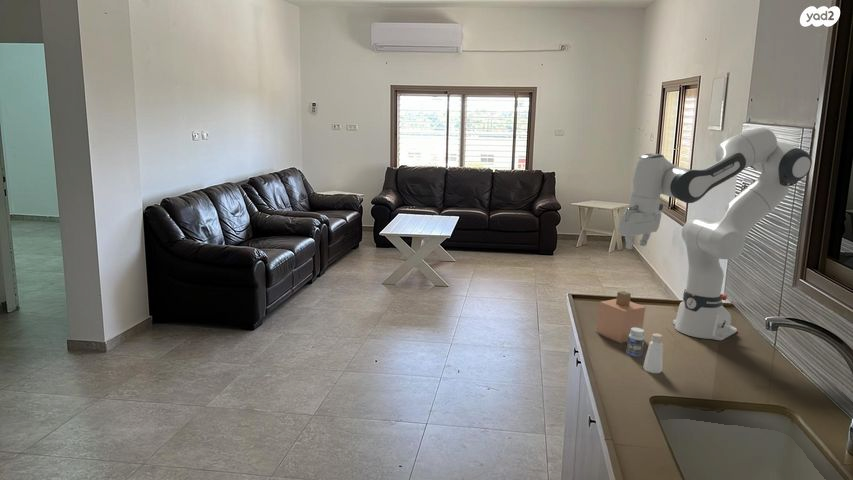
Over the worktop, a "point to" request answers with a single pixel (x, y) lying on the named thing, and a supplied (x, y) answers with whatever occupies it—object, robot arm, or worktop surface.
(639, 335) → the pill bottle
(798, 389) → the worktop surface
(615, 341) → the mat
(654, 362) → the pepper shaker
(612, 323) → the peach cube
